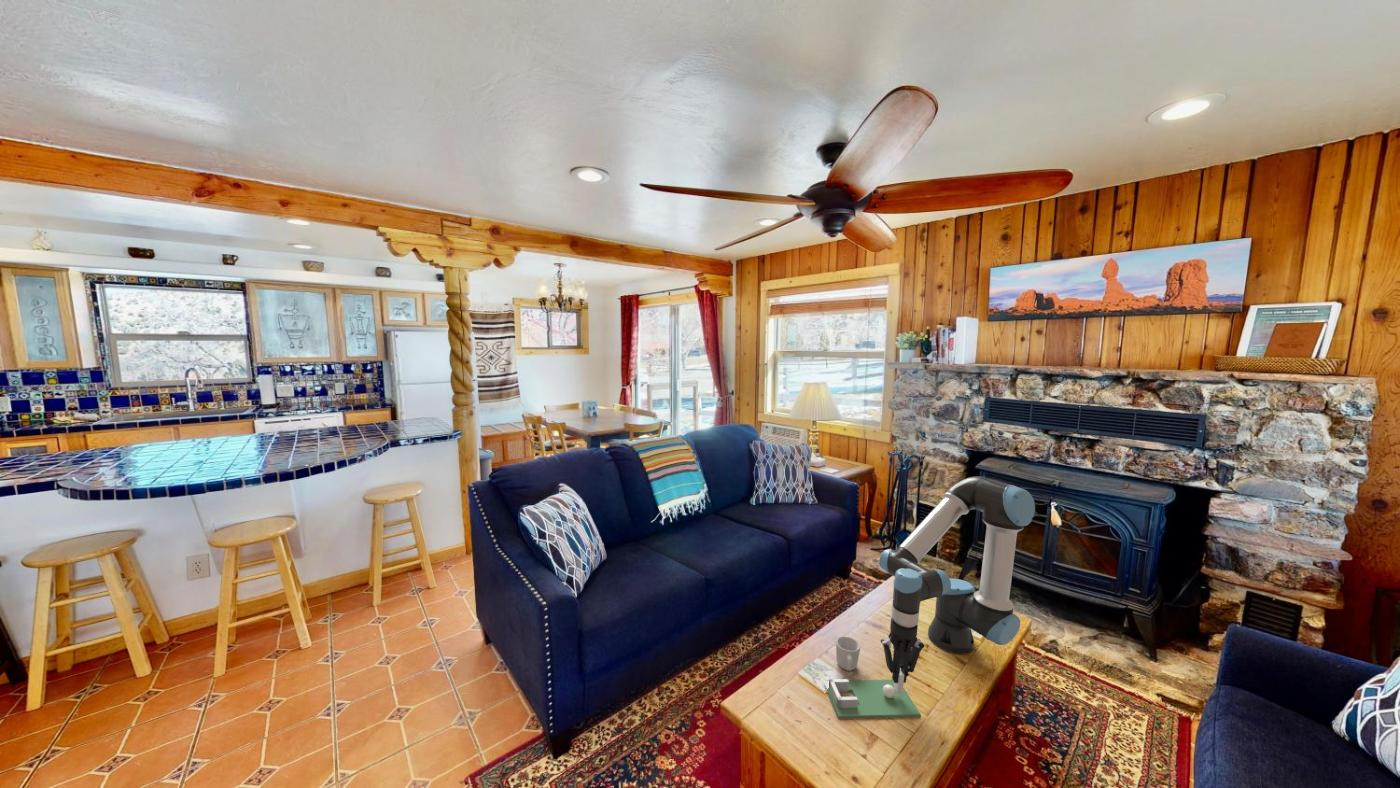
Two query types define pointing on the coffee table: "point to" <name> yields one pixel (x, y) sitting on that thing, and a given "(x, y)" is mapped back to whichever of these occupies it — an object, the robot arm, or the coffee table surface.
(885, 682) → the green mat
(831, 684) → the white u-shaped bracket
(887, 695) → the ball
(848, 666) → the cup
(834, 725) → the coffee table surface
